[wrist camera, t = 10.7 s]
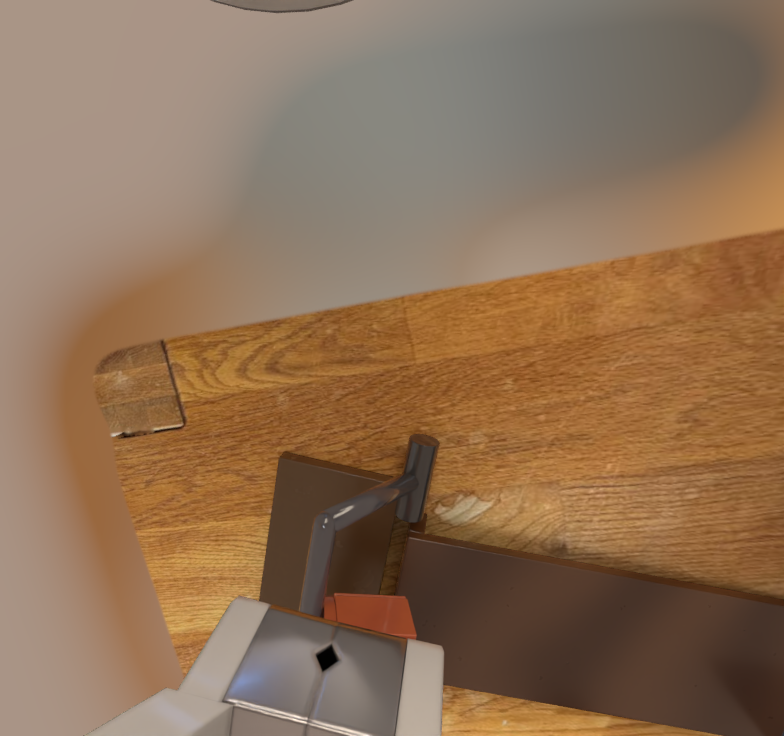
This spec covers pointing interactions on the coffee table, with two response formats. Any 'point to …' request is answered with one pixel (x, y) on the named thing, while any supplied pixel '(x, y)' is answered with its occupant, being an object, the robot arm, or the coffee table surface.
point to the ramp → (597, 636)
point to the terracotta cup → (410, 507)
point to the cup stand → (294, 526)
